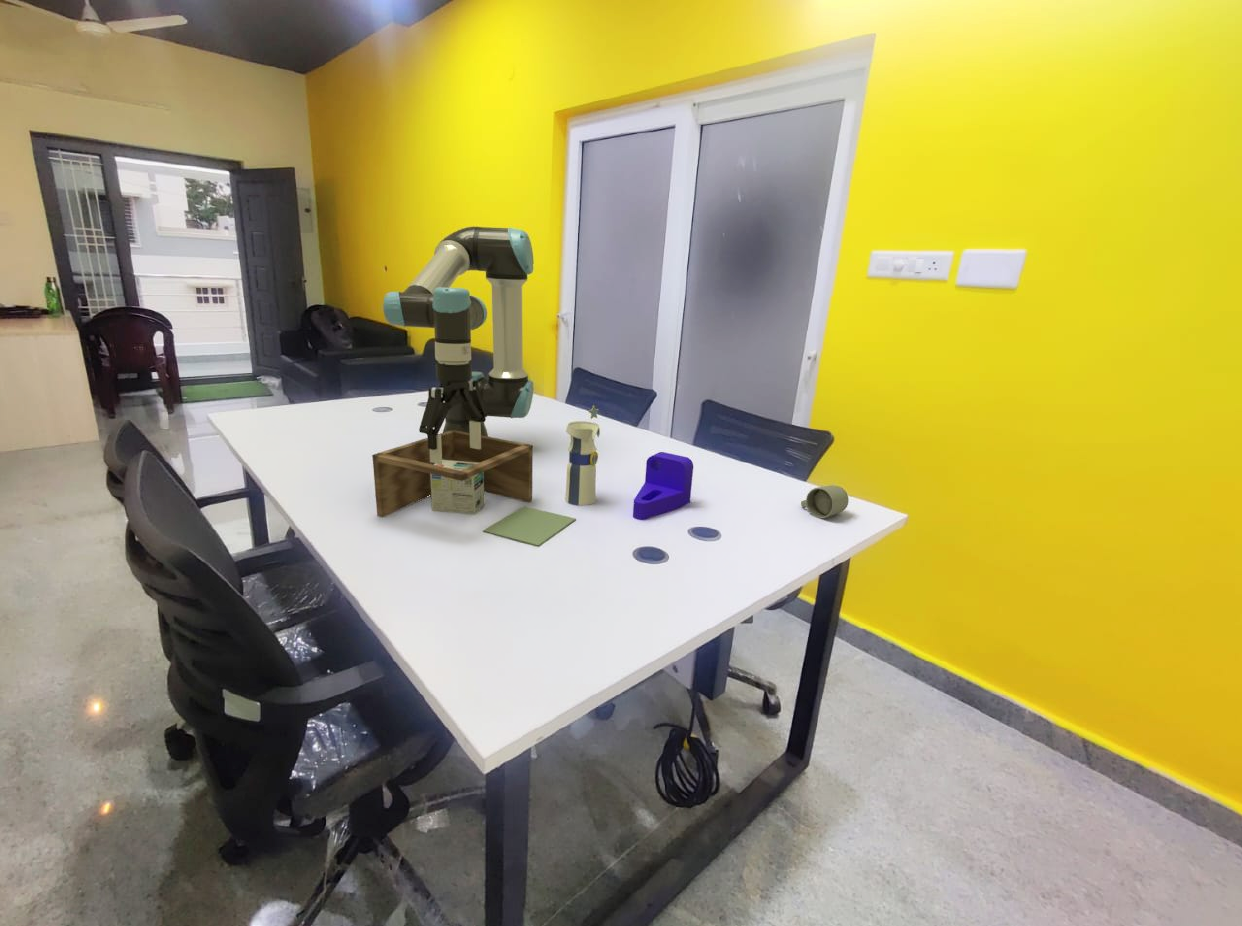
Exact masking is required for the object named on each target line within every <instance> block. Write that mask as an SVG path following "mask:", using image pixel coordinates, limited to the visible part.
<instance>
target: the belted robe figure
mask: <svg viewBox="0 0 1242 926" xmlns="http://www.w3.org/2000/svg"><path fill="white" fill-rule="evenodd" d="M599 410H600V409H599V408H596V407H595V405H592V408H591V409H590V410H588V413H589V414H590V420H592V419H593V418H596V419H598V415H597V413H598V412H600V411H599ZM565 431H566V433H567V434H568V435H570V443H569V446H568V447H567V450H568V451H569V453H568V454H569V457H568V458H569V459H568V462H567V466H566V483H565V493H564V494H565V495H564V500H565V502H566V503H568V504H569V505H572V506H573V505H574V506H583V507H584V506H590V505H592V504H595V503H596V501H597V499H596V481H597V480H596V479H597V478H596V475H597V470H596V465H597V462H598V460H599V454H598V452H597V450H598V449H597V448H596V447H597V446H596V445H595V438H596V435H597V438H599V437H600V434H601V432H600V431H601V430H600V425H599V424H598V423H596V422H591V421H586V420H585V421H583V420H581V421H580V420H578V421H572V422H569V423H568V424H567V426H566V430H565Z"/></svg>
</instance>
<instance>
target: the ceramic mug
mask: <svg viewBox="0 0 1242 926" xmlns="http://www.w3.org/2000/svg"><path fill="white" fill-rule="evenodd" d="M800 503H801V505H800V506H801V507H802V508H807V510H808V512H809V513H810V514H811V516H814V517H815V518H817V519H826V518H829V517H832V516H834V515H838V514H840V513H842V512H843V511H845V510H846V508H847V507H848V505H849V495H848V493H847V491H846V490H845V489H844V488H843V487H841V486H839V485H836V484H835V485H834V484H831V485H830V484H829V485H825V486H824V485H823V486H819V487H814V488H812V489H810V490H809V492H808V493H807V495H806V498H805V500H801V502H800Z"/></svg>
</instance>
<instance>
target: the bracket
mask: <svg viewBox="0 0 1242 926" xmlns="http://www.w3.org/2000/svg"><path fill="white" fill-rule="evenodd" d="M645 465H646V466H645V467H646V468H645V478H644V479H645V480H644V483H643V485H642V486H641V488H640V490H639V491H638V493H637V494H636V496H635V497H634V498H633V507H632V508H633V509H632V518H633V519H635V520H638V521H644V520H648V519H652V518H655V517H658V516H661V515H664V514H667V513H670V512H673V511H676V510H679V509H682V508H684V507H686V506H687V505H689V504H690V503H691V495H692V486H693V483H692V482H693V476H694V475H693V474H694V462H693V461H692V460H691V459H690V458H689V457H687V456H683V455H679V454H678V455H677V454H674V453H669V452H664V451H660V452H656V453H655V454H653V455H651V456H649V457H648V458H647V459H646V464H645Z"/></svg>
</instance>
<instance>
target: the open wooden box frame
mask: <svg viewBox="0 0 1242 926" xmlns="http://www.w3.org/2000/svg"><path fill="white" fill-rule="evenodd" d="M440 434H441V445H442V460H451V461H464V462H478V464H476V465H473V466H471V467H468V468H466V469H463V470H461V471H459V470H455V469H450V468H446V467H441V466H437V465H434V464H435V463H432V462H430V449H429V448H428V437H426V438H423V439H419V440H416V441H413V442H412V441H411V442H410V443H407V444H406V443H405V444H403V445H399V446H398V447H397V446H396V447H394V448H390V449H388V450H384V451H381V452H378V453H374V454H372V468H373V478H374V493H375V506H376V513H377V514H376V516H378V517H381V518H383V517H385V516H388V515H391V514H392V513H394V512H397V511H399V510H401V508H402V509H403V507H404V508H406V507H408V506H410V505H409V504H411V503H413V502H415V503H417V502H419V501H418V500H420V499H422V498H424V499H426V498H425V497H427V496H429V495H431V482H430V474H434V475H439V476H443V477H447V478H452V479H456V480H460V481H463V480H465V479H468V478H470V477H472V476H474V475H477V474H479V473H481V472H484V493H488V494H492V495H497V496H501V497H505V498H509V499H513V500H517V501H523V502H527V503H529V502H531V501H533V464H534V463H533V458H534V457H533V453H534V452H533V444H528V443H524V442H518V441H512V440H506V439H503V438H497V437H492V436H488V437H487V436H482V435H481V449H474V448H470V433H466V432H461V431H456V430H451V431H447V432H444V433H443V432H442V433H440ZM429 497H430V496H429ZM427 498H428V497H427ZM422 500H423V499H422ZM416 501H417V502H416ZM420 501H421V500H420ZM413 504H414V503H413ZM407 505H408V506H407ZM411 505H412V504H411ZM405 506H406V507H405Z"/></svg>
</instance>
